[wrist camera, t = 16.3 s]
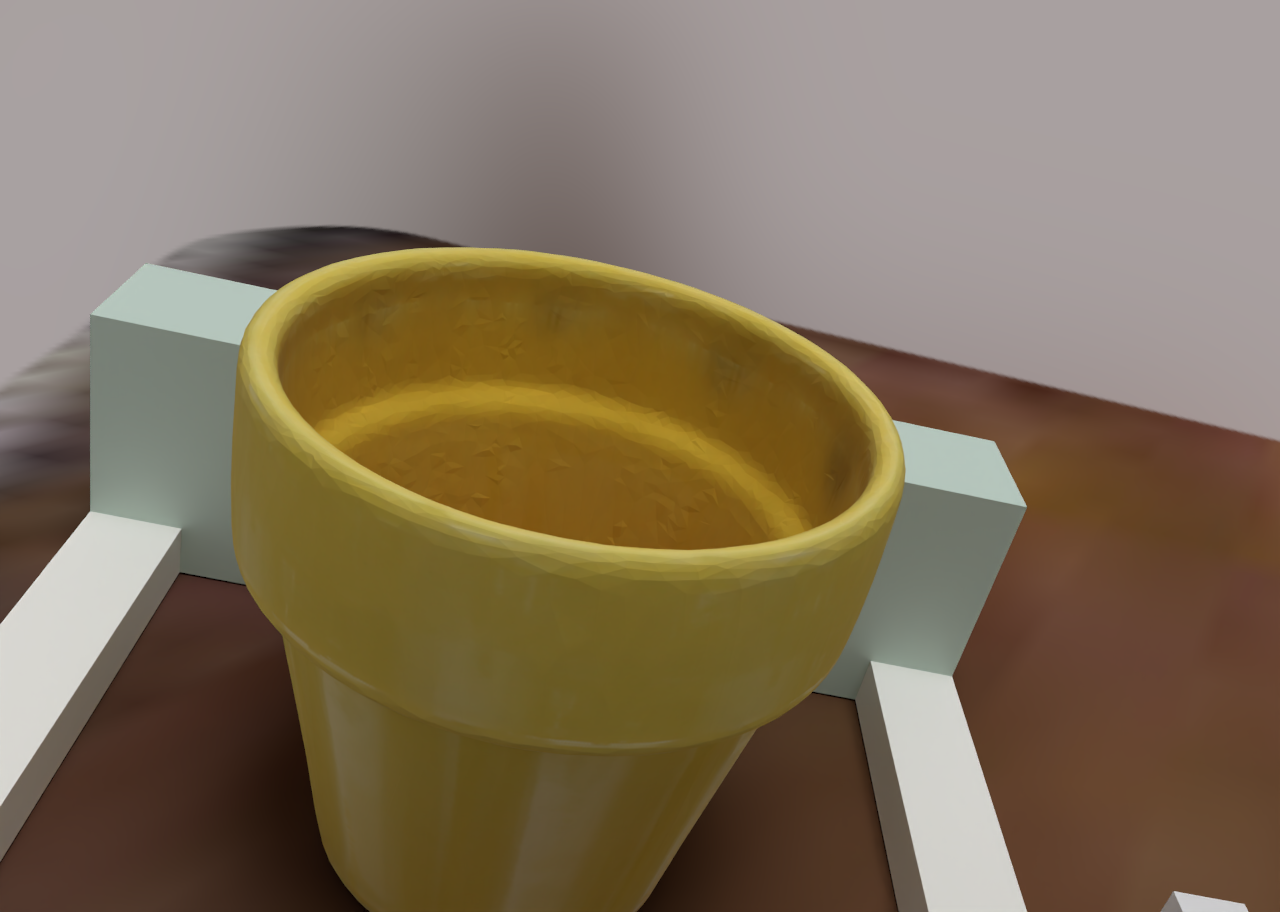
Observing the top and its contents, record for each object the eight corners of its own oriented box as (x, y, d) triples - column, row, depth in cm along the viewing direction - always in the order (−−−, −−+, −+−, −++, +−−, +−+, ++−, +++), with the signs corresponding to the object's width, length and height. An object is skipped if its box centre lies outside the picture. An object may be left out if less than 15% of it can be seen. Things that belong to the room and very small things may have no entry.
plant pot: (215, 640, 26) (244, 205, 21) (668, 644, 29) (779, 270, 25) (189, 1103, 17) (228, 549, 13) (830, 1035, 21) (1046, 577, 16)
